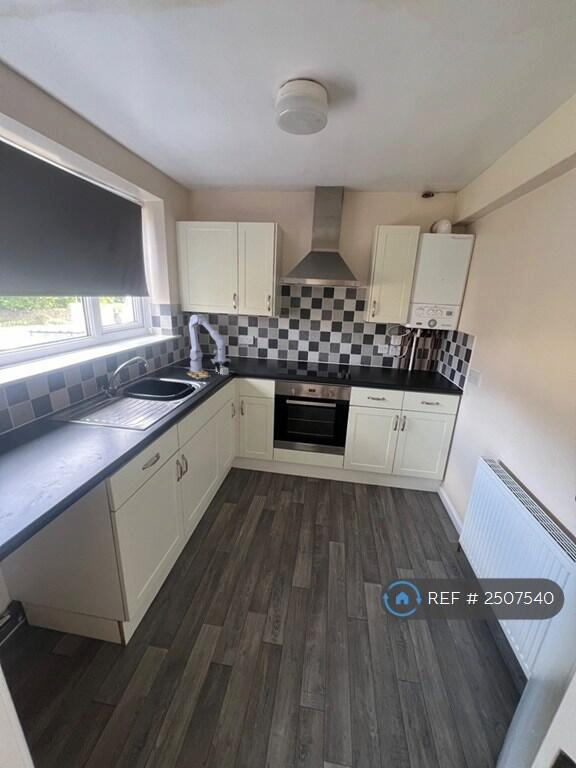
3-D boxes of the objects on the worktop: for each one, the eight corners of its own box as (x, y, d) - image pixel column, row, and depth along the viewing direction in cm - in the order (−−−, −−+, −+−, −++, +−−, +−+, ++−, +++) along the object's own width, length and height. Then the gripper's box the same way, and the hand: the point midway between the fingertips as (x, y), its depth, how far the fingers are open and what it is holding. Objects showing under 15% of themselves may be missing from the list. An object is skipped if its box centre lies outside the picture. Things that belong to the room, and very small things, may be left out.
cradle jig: (187, 374, 228) (186, 370, 228) (200, 372, 235) (200, 368, 234) (197, 379, 215) (196, 375, 214) (211, 377, 222) (211, 373, 221)
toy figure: (207, 366, 257) (206, 348, 253) (215, 364, 266) (214, 347, 262) (222, 368, 249) (222, 351, 245) (230, 366, 258) (230, 349, 254)
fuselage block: (215, 372, 238) (215, 366, 236) (221, 371, 241) (221, 365, 239) (222, 375, 229) (222, 369, 228) (228, 374, 233) (228, 368, 231)
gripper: (215, 355, 223) (215, 373, 227) (232, 354, 233) (232, 371, 236) (211, 354, 229) (211, 371, 232) (228, 352, 238) (228, 369, 241)
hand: (222, 371), depth 235 cm, fingers open, 5 cm apart
